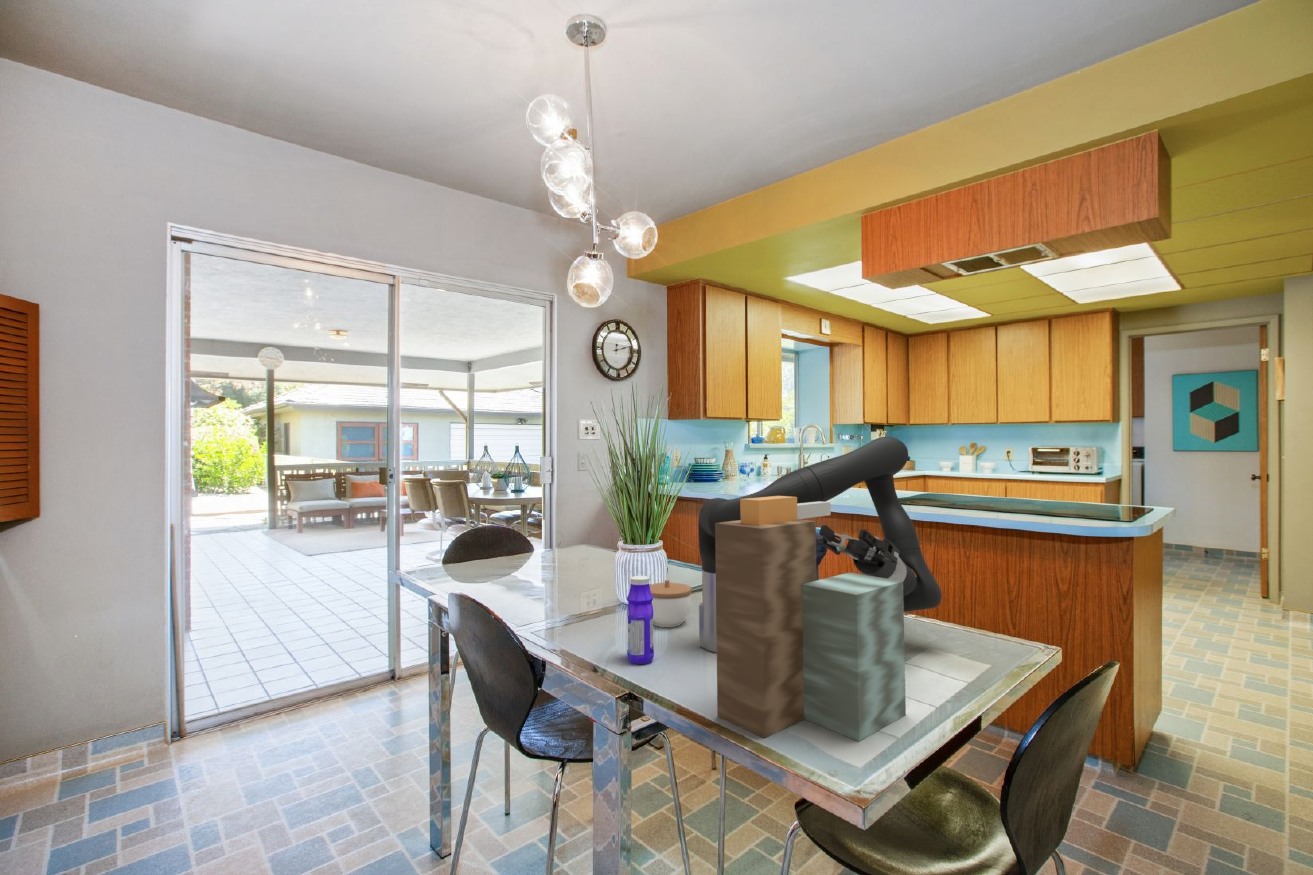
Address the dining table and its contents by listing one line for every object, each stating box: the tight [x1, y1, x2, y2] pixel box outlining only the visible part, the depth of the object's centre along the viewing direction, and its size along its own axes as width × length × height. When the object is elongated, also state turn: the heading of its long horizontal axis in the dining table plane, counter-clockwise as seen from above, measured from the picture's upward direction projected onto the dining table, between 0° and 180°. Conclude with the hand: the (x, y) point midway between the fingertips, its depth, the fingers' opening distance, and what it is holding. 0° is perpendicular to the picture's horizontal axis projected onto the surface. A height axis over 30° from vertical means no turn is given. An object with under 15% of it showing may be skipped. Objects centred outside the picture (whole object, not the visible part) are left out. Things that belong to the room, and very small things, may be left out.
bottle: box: [626, 575, 655, 665], centre depth 127 cm, size 7×6×17 cm
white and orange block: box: [740, 496, 832, 525], centre depth 105 cm, size 21×4×4 cm, turn 130°
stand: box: [715, 519, 907, 742], centre depth 99 cm, size 24×20×32 cm
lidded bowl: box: [649, 579, 693, 629], centre depth 153 cm, size 13×13×11 cm
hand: (841, 531), depth 115 cm, fingers open, 8 cm apart
